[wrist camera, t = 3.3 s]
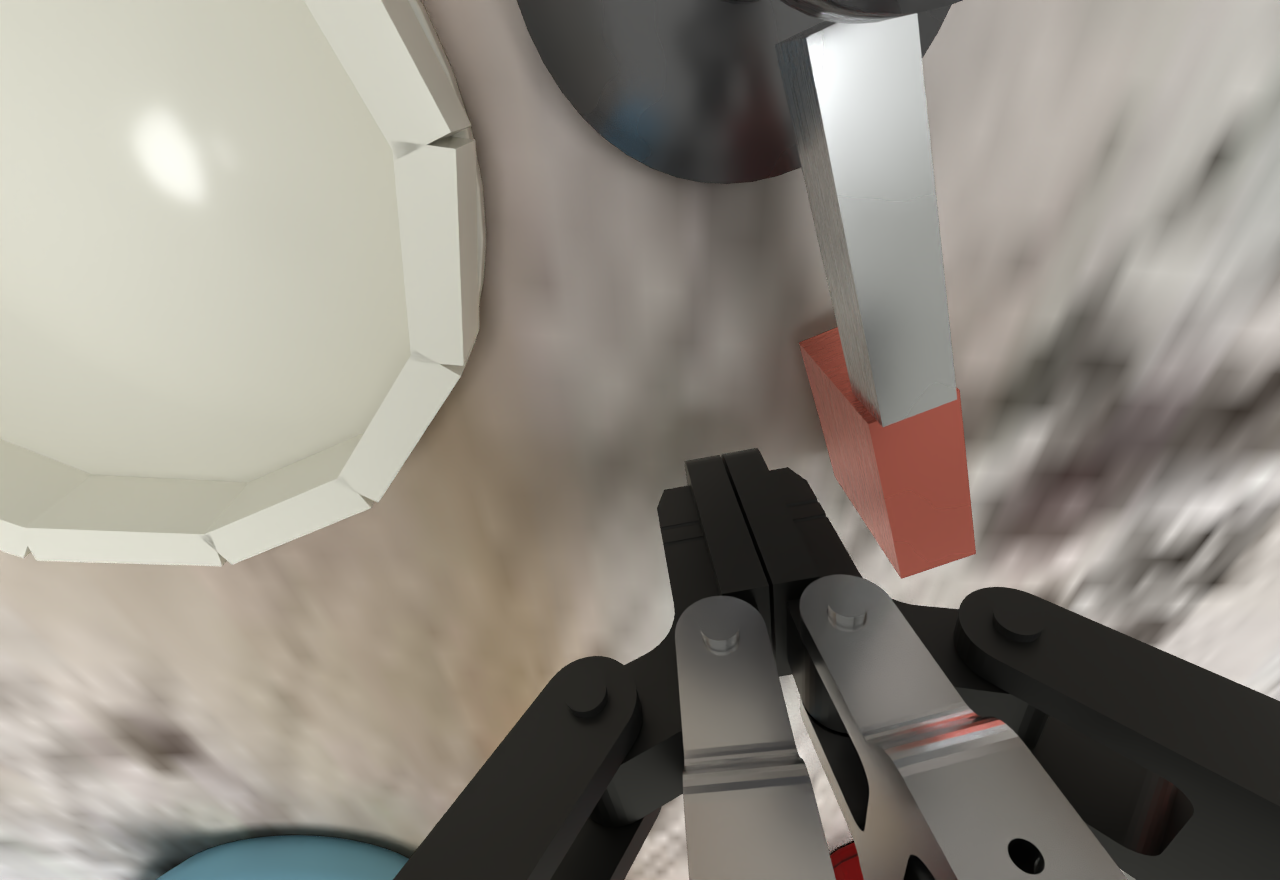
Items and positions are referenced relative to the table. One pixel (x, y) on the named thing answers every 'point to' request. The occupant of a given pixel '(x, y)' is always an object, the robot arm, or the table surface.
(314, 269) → the dish
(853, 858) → the plastic cup
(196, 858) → the teapot
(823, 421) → the crank
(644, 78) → the base
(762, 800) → the robot arm
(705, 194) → the table surface
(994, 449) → the table surface
